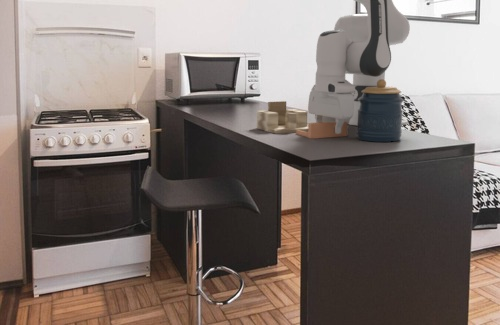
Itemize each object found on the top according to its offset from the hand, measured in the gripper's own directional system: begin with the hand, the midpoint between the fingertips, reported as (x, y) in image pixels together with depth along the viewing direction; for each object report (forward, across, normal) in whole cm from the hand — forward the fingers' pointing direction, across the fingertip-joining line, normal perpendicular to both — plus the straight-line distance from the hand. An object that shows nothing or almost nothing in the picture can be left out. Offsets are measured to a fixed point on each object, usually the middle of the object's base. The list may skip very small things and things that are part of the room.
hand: (328, 131), depth 150 cm
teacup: (+2, -17, +13) cm, 22 cm away
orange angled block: (+2, -4, 0) cm, 5 cm away
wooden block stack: (+2, -19, -5) cm, 20 cm away
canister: (+2, +9, +12) cm, 15 cm away
